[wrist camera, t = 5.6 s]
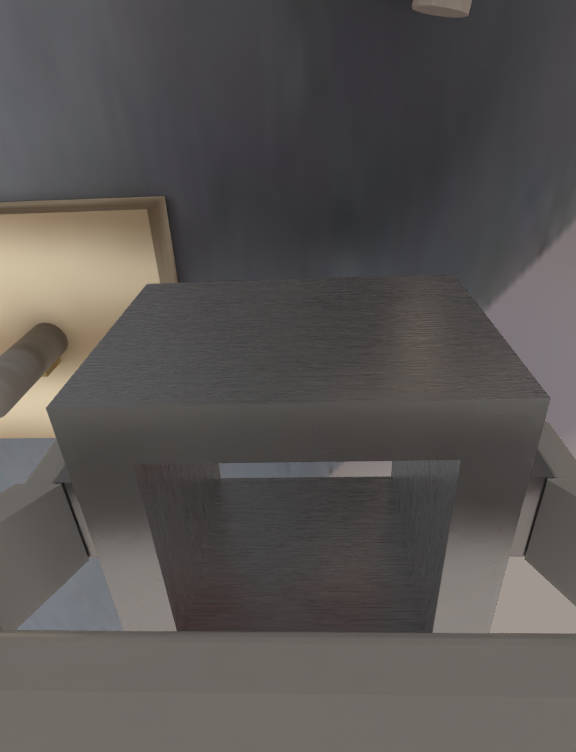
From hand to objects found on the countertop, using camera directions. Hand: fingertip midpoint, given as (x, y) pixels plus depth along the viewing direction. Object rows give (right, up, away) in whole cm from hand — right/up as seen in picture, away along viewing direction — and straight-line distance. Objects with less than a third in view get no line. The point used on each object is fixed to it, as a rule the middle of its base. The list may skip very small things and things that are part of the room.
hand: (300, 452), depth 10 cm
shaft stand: (-12, +5, +17) cm, 22 cm away
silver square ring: (0, +1, +1) cm, 2 cm away
